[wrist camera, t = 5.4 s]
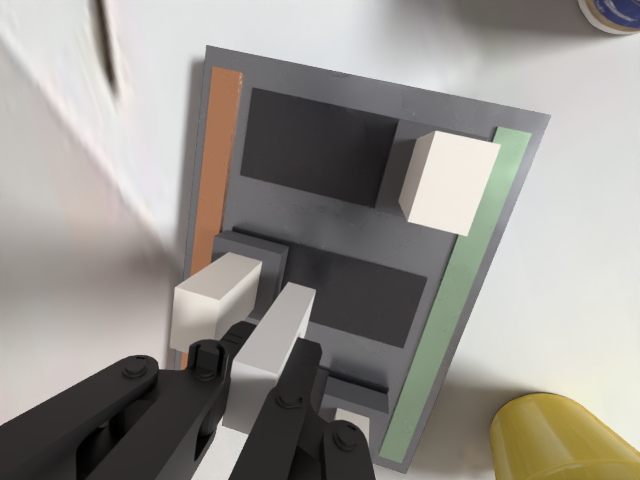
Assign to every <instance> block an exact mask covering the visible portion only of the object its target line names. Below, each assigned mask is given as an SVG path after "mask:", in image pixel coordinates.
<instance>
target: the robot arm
mask: <svg viewBox="0 0 640 480" xmlns="http://www.w3.org/2000/svg"><path fill="white" fill-rule="evenodd" d="M315 292H316V290H315V289H311V288H308V287H304V286H301V285H298V284H294V283H291V282H288V283H287V285H286V286H285V287H284V289H283V290H282V292H281V293H280V294H279V296H278V297H277V299H276V300H275V302H274V303H273V304H272V306H271V307H270V309H269V310H268V311H267V313H266V314H265V316H264V317H263V319H262V320H261V321H260V323H259V324H258V325H255V324H252V323H249V322H245V321H240V322H238V323H236V324H234V325H232V326H231V327H230V329H229V330H228V331H227V332H226V334H224V336H223V337H222V338H221V339H220V340H219V341H218V340H213V339H204V340H199V341H196V342H194V343H193V344H191V345H190V346H189V352H188V360H187V367H186V368H185V369H184V370H161V369H159V366H158V362H157V361H156V360H155V359H154V358H152V357H150V356H147V355H134V356H129V357H126V358H124V359H121V360H119V361H118V362H116V363H114V364H112V365H110V366H108V367H107V368H105V369H103V370H101V371H99V372H98V373H96V374H94V375H92V376H90V377H88V378H87V379H85V380H83V381H81V382H79V383H77V384H76V385H74V386H72V387H70V388H68V389H67V390H65V391H63V392H61V393H59V394H57V395H56V396H54V397H52V398H50V399H48V400H46V401H45V402H43V403H41V404H39V405H37V406H36V407H34V408H32V409H30V410H28V411H26V412H25V413H23V414H21V415H19V416H17V417H15V418H14V419H12V420H10V421H8V422H6V423H4V424H3V425H1V426H0V480H191V478H192V477H193V475H194V473H195V471H196V470H197V468H198V466H199V464H200V463H201V461H202V459H203V457H204V456H205V454H206V452H207V450H208V449H209V447H210V445H211V443H212V442H213V440H214V437H215V434H216V429H217V425H218V423H219V421H220V420H221V418H222V416H223V421H222V426H225V427H228V428H231V429H234V430H237V431H240V432H242V433H245V434H248V435H249V436H248V438H247V440H246V442H245V445H244V447H243V449H242V451H241V453H240V455H239V458H238V460H237V462H236V464H235V466H234V468H233V471H232V473H231V475H230V477H229V479H228V480H376V479H375V475H374V470H373V465H372V461H371V456H370V452H369V447H368V443H367V440H366V437H365V435H364V433H363V432H362V431H361V430H360V428H359V427H358V426H356V425H355V424H353V423H352V422H349V421H346V420H334V421H332V422H330V423H328V422H327V421H325V420H324V419H322V418H321V417H320V416H319V415H317V413H316V412H315V411H314V409H313V407H312V405H311V401H310V398H311V393H312V390H313V386H314V382H315V379H316V375H317V371H318V368H319V364H320V360H321V357H322V353H323V352H322V349H321V345H320V343H316V342H313V341H310V340H307V339H304V336H305V333H306V329H307V325H308V321H309V317H310V313H311V309H312V305H313V301H314V297H315Z"/></svg>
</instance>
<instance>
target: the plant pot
mask: <svg viewBox="0 0 640 480" xmlns="http://www.w3.org/2000/svg"><path fill="white" fill-rule="evenodd" d="M490 439H491V446H492V453H493V461H494V469H495V477H496V480H640V452H639V451H637V450H636V449H635V448H634V447H632V446H631V445H630V444H629V443H627V442H626V441H625V440H624V439H622V438H621V437H620V436H619V435H618V434H616V433H615V432H614V431H613V430H611V429H610V428H609V427H608V426H606V425H605V424H604V423H603V422H601V421H600V420H599V419H598V418H597V417H595V416H594V415H593V414H592V413H591V412H589V411H588V410H587V409H586V408H584V407H583V406H582V405H580V404H579V403H577V402H575V401H573V400H571V399H568V398H566V397H563V396H559V395H554V394H546V393H538V394H529V395H525V396H522V397H518V398H516V399H514V400H512V401H510V402H508V403H507V404H505V405H504V406H503V407H501V408H500V410H499V411H498V412H497V413H496V415H495V417H494V418H493V421H492V424H491V428H490Z"/></svg>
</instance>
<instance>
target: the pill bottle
mask: <svg viewBox="0 0 640 480" xmlns="http://www.w3.org/2000/svg"><path fill="white" fill-rule="evenodd" d="M578 3H579V6H580V8H581V11H582V13H583V14H584V15H585V17H586V18H587V19H588V21H589V22H590V23H591V24H592V25H593V26H595V27H597V28H598V29H600V30H602V31H605V32H608V33H612V34H635V33H640V0H578Z"/></svg>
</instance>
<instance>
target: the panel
mask: <svg viewBox="0 0 640 480" xmlns="http://www.w3.org/2000/svg"><path fill="white" fill-rule="evenodd" d="M550 117H551V115H548V114H543V113H538V112H534V111H529V110H524V109H519V108H514V107H509V106H504V105H499V104H494V103H489V102H484V101H479V100H474V99H470V98H465V97H460V96H455V95H450V94H445V93H440V92H435V91H430V90H425V89H420V88H415V87H410V86H406V85H401V84H396V83H391V82H386V81H381V80H376V79H371V78H366V77H361V76H356V75H351V74H346V73H342V72H337V71H332V70H327V69H322V68H317V67H312V66H307V65H302V64H297V63H292V62H287V61H282V60H278V59H273V58H268V57H263V56H258V55H253V54H248V53H243V52H238V51H233V50H228V49H223V48H218V47H214V46H209V45H206V54H205V64H204V74H203V84H202V94H201V104H200V114H199V124H198V134H197V144H196V154H195V165H194V175H193V185H192V195H191V205H190V215H189V225H188V235H187V245H186V255H185V265H184V275H183V282H184V281H185V280H187V279H188V278H190V277H191V276H193V275H194V274H196V273H197V272H199V271H201V270H202V269H204V268H205V267H207V266H208V265H210V264H211V256H212V248H213V240H214V236H215V235H217V234H219V233H221V232H223V231H225V230H230V231H234V232H237V233H241V234H245V235H248V236H252V237H256V238H260V239H263V240H267V241H271V242H275V243H278V244H282V245H286V246H289V250H288V255H287V260H286V265H285V270H284V275H283V280H282V285H281V290H280V293H281V292H282V290H283V289H284V287H285V286H286V285H287V283H288V282H291V283H294V284H298V285H301V286H304V287H308V288H311V289H315V290H316V292H315V297H314V301H313V305H312V309H311V313H310V317H309V321H308V325H307V329H306V333H305V336H304V339H307V340H310V341H313V342H316V343H320V345H321V349H322V352H323V353H322V357H321V360H320V364H319V368H318V371H317V375H316V379H315V382H314V386H313V390H312V393H311V398H310V401H311V405H312V407H313V409H314V411H315V412H316V413H317V415H318V411H319V407H320V404H321V400H322V397H323V393H324V389H325V386H326V382H327V378H328V376H329V377H332V378H335V379H339V380H342V381H345V382H348V383H351V384H355V385H358V386H361V387H364V388H368V389H371V390H374V391H377V392H380V393H384V394H387V395H388V403H389V416H388V419H387V421H386V424H385V427H384V430H383V433H382V435H381V438H380V441H379V444H378V447H377V449H376V452H375V455H374V458H373V461H372V463H374V464H377V465H380V466H383V467H386V468H389V469H392V470H395V471H398V472H401V473H404V474H406V472H407V469H408V467H409V465H410V462H411V460H412V457H413V455H414V452H415V450H416V447H417V445H418V442H419V440H420V437H421V435H422V432H423V430H424V428H425V425H426V423H427V420H428V418H429V415H430V413H431V410H432V408H433V405H434V403H435V400H436V398H437V396H438V393H439V391H440V388H441V386H442V383H443V381H444V378H445V376H446V373H447V371H448V368H449V366H450V364H451V361H452V359H453V356H454V354H455V351H456V349H457V346H458V344H459V341H460V339H461V336H462V334H463V332H464V329H465V327H466V324H467V322H468V319H469V317H470V314H471V312H472V309H473V307H474V304H475V302H476V299H477V297H478V295H479V292H480V290H481V287H482V285H483V282H484V280H485V277H486V275H487V272H488V270H489V267H490V265H491V263H492V260H493V258H494V255H495V253H496V250H497V248H498V245H499V243H500V240H501V238H502V235H503V233H504V231H505V228H506V226H507V223H508V221H509V218H510V216H511V213H512V211H513V208H514V206H515V203H516V201H517V198H518V196H519V194H520V191H521V189H522V186H523V184H524V181H525V179H526V176H527V174H528V171H529V169H530V166H531V164H532V162H533V159H534V157H535V154H536V152H537V149H538V147H539V144H540V142H541V139H542V137H543V134H544V132H545V130H546V127H547V125H548V122H549V120H550ZM399 119H404V120H409V121H413V122H418V123H423V124H427V125H432V126H437V127H441V128H446V129H451V130H455V131H460V132H465V133H469V134H474V135H479V136H483V137H488V139H487V142H491V143H496V144H500V145H501V146H500V149H499V152H498V155H497V157H496V160H495V163H494V165H493V168H492V171H491V173H490V176H489V179H488V181H487V184H486V187H485V189H484V192H483V195H482V198H481V200H480V203H479V206H478V208H477V211H476V214H475V216H474V219H473V222H472V224H471V227H470V230H469V233H468V235H467V236H463V235H459V234H455V233H451V232H447V231H443V230H439V229H435V228H431V227H427V226H423V225H419V224H415V223H411V222H408V221H407V219H406V218H404V217H400V216H396V215H392V214H388V213H384V212H380V211H376V210H375V203H376V199H377V196H378V192H379V188H380V185H381V181H382V177H383V174H384V170H385V166H386V163H387V159H388V156H389V152H390V148H391V145H392V141H393V137H394V134H395V130H396V126H397V123H398V121H399ZM244 321H245V322H249V323H252V324H255V325H258V324H259V323H260V321H259V320H256V319H252V318H249V317H246V319H245V320H244ZM187 360H188V353H185V352H182V351H178V350H176V355H175V365H174V370H184V369H185V368H186V367H187Z"/></svg>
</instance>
